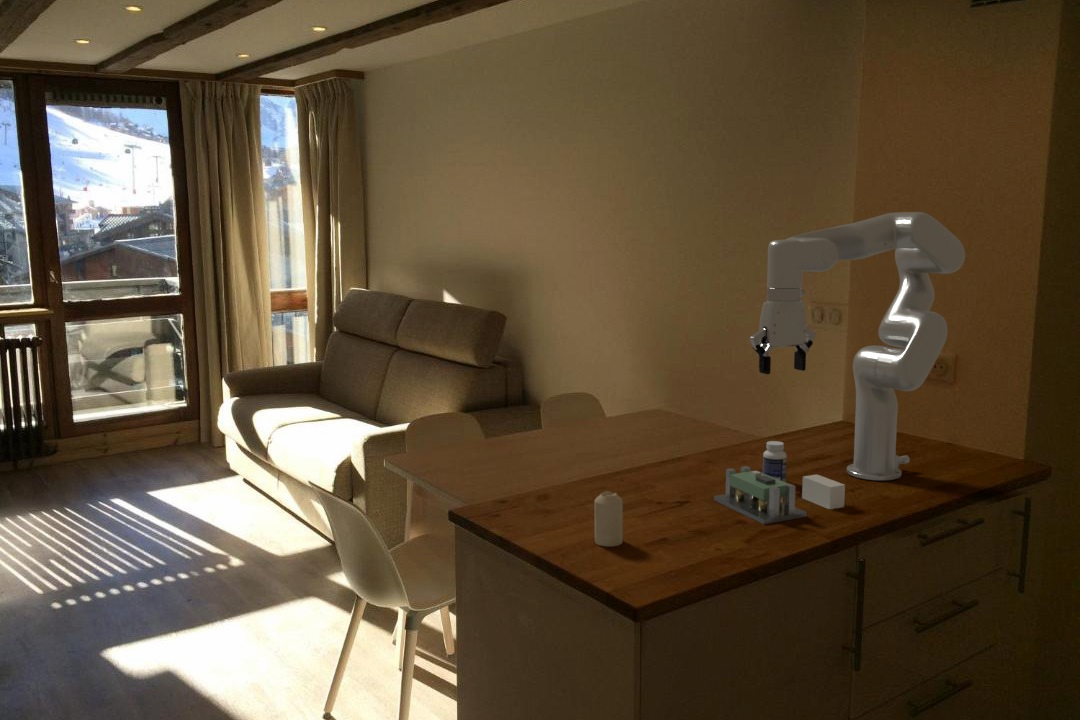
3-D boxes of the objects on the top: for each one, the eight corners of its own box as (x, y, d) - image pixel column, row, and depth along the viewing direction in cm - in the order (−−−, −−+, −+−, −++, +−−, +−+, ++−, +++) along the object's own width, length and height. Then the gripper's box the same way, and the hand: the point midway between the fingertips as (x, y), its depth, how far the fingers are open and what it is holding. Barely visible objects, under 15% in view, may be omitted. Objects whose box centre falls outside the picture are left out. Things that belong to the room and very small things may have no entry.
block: (816, 495, 204) (816, 474, 203) (844, 506, 196) (844, 484, 195) (802, 498, 203) (802, 476, 202) (829, 509, 194) (830, 487, 194)
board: (755, 481, 202) (756, 467, 202) (790, 495, 192) (790, 480, 191) (729, 485, 200) (730, 470, 199) (763, 500, 189) (763, 485, 188)
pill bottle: (786, 486, 212) (787, 446, 210) (763, 485, 213) (764, 445, 211) (785, 479, 217) (786, 440, 215) (762, 479, 218) (763, 439, 216)
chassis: (754, 493, 207) (754, 464, 205) (806, 516, 190) (807, 484, 189) (713, 500, 202) (714, 470, 201) (763, 524, 186) (764, 491, 185)
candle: (592, 537, 180) (592, 489, 178) (620, 536, 180) (619, 488, 179) (596, 547, 174) (596, 498, 173) (624, 546, 175) (624, 496, 173)
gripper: (804, 292, 207) (802, 366, 209) (741, 296, 200) (740, 372, 203) (826, 295, 200) (824, 370, 202) (762, 298, 193) (761, 377, 196)
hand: (782, 371), depth 202 cm, fingers open, 9 cm apart
